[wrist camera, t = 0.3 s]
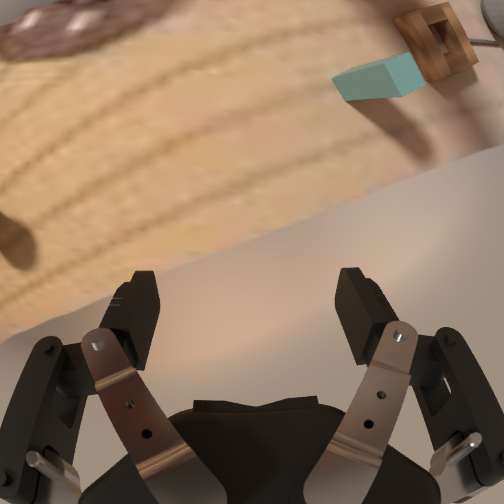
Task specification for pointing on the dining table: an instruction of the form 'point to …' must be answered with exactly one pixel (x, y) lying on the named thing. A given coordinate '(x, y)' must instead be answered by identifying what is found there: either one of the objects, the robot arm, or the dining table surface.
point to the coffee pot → (494, 15)
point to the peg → (380, 79)
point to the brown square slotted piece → (427, 47)
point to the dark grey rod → (484, 42)
